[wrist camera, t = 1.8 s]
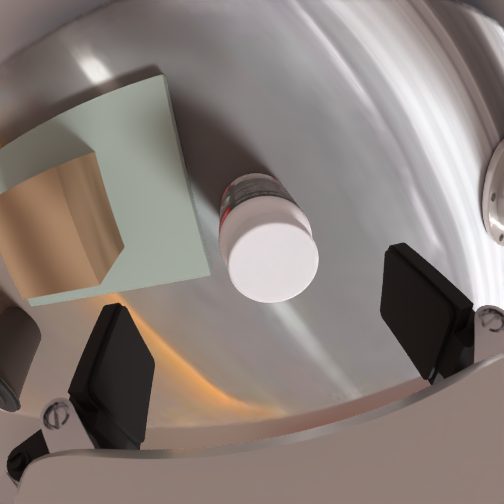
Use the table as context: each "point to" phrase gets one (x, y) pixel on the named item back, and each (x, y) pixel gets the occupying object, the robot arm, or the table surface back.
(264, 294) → the pill bottle
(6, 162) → the build board
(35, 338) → the coffee cup
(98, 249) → the walnut brick
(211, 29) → the table surface
